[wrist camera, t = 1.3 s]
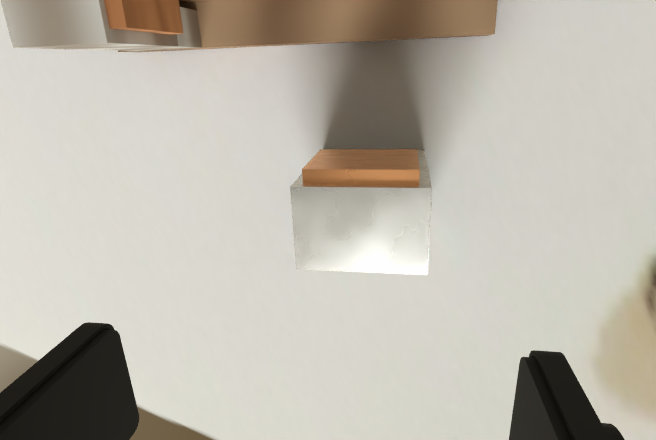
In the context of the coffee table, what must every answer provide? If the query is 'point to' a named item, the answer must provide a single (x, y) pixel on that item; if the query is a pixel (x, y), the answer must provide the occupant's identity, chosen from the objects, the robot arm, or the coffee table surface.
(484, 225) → the coffee table surface
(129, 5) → the rail
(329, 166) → the white and wooden block
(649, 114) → the coffee table surface
